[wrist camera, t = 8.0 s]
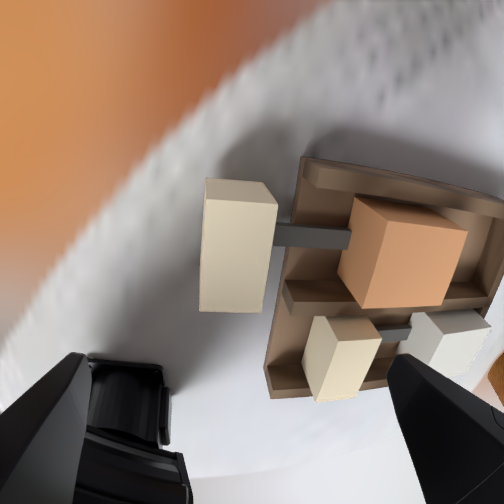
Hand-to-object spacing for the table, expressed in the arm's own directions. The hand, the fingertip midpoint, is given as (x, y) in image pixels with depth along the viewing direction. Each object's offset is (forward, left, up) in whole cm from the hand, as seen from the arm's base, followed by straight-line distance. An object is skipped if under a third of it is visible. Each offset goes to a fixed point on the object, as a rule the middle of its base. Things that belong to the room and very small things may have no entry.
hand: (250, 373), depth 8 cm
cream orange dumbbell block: (+6, 0, -11) cm, 12 cm away
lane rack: (+13, -4, -12) cm, 18 cm away
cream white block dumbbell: (+14, -8, -11) cm, 19 cm away
